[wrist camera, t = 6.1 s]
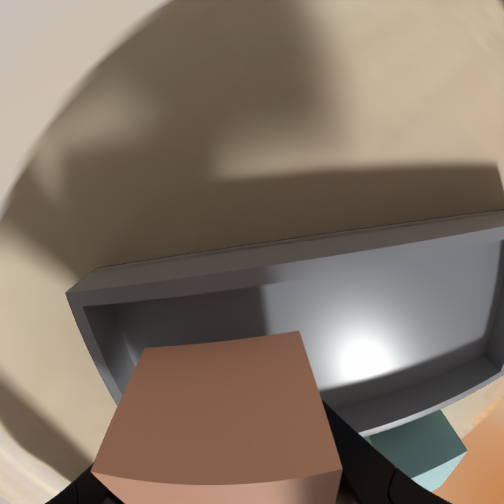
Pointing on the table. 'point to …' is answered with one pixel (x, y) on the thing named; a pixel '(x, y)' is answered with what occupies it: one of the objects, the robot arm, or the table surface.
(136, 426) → the terracotta block
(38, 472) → the table surface
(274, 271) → the tray
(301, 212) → the table surface
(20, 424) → the table surface
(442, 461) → the teal block
